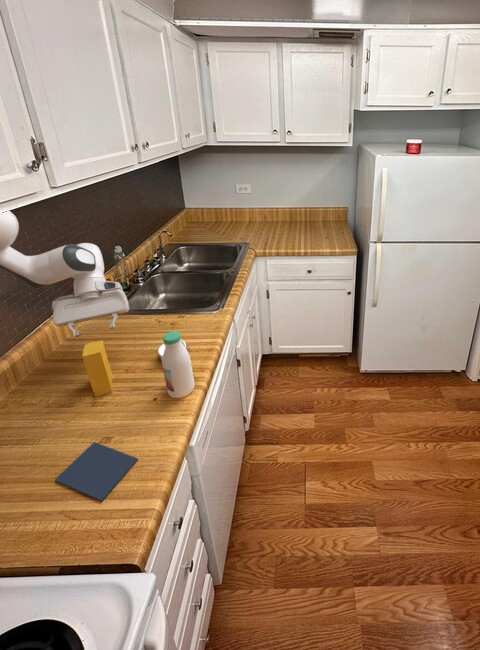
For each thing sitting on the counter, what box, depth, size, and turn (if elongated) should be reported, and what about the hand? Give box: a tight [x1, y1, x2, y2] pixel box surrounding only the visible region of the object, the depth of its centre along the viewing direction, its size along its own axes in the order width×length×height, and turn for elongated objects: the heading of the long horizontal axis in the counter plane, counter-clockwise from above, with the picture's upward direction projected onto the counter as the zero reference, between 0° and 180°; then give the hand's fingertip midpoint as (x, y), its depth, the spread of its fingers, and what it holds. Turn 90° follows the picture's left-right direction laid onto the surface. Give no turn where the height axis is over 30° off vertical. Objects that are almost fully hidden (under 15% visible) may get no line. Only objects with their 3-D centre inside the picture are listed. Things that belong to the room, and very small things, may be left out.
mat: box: [54, 441, 139, 503], centre depth 78 cm, size 14×10×1 cm
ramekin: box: [157, 339, 187, 361], centre depth 114 cm, size 9×9×4 cm
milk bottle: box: [161, 330, 195, 399], centre depth 98 cm, size 8×8×20 cm
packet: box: [81, 340, 114, 398], centre depth 99 cm, size 6×4×15 cm
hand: (95, 332), depth 103 cm, fingers open, 8 cm apart
